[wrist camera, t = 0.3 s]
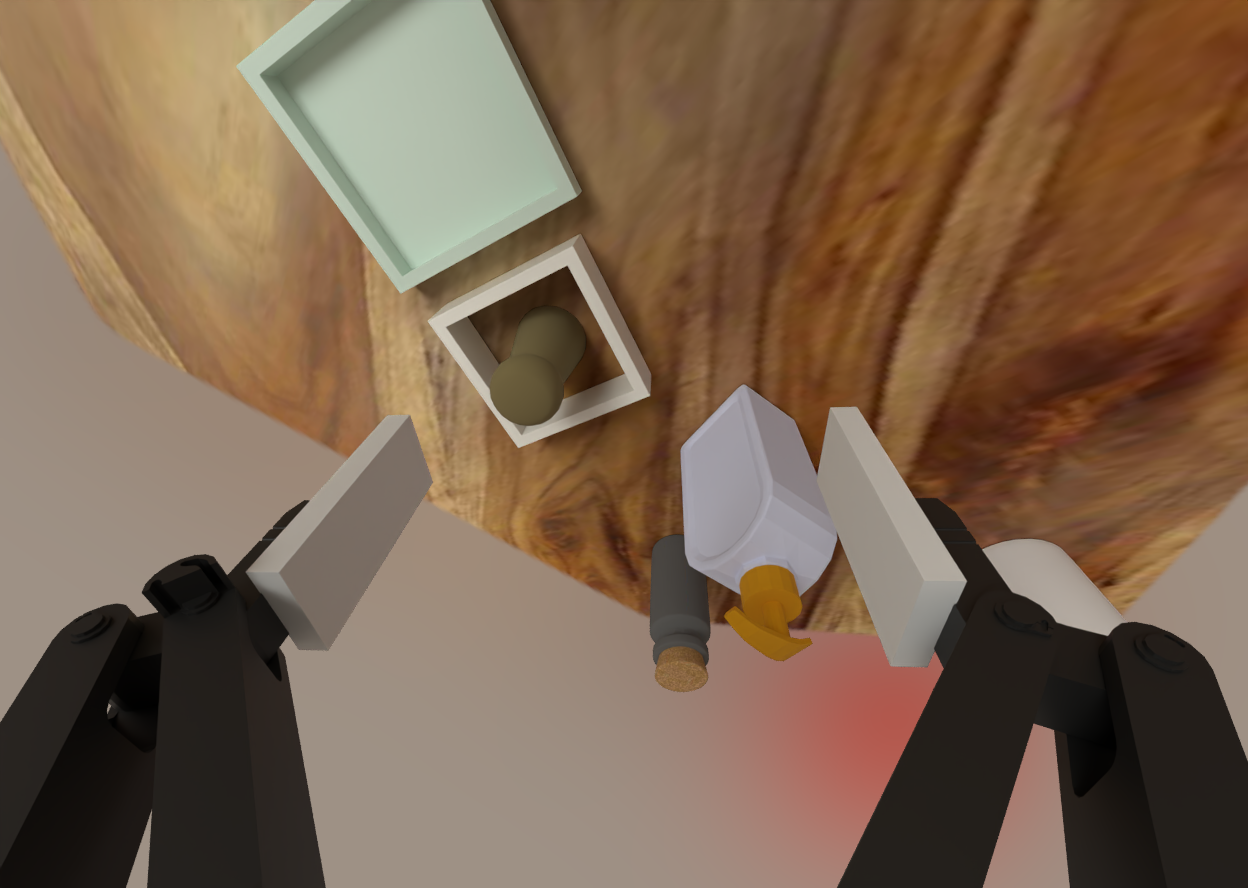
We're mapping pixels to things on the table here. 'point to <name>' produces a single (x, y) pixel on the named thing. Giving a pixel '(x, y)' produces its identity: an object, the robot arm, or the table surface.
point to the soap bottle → (756, 517)
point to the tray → (414, 125)
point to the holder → (577, 256)
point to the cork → (538, 366)
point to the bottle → (678, 617)
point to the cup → (1054, 584)
